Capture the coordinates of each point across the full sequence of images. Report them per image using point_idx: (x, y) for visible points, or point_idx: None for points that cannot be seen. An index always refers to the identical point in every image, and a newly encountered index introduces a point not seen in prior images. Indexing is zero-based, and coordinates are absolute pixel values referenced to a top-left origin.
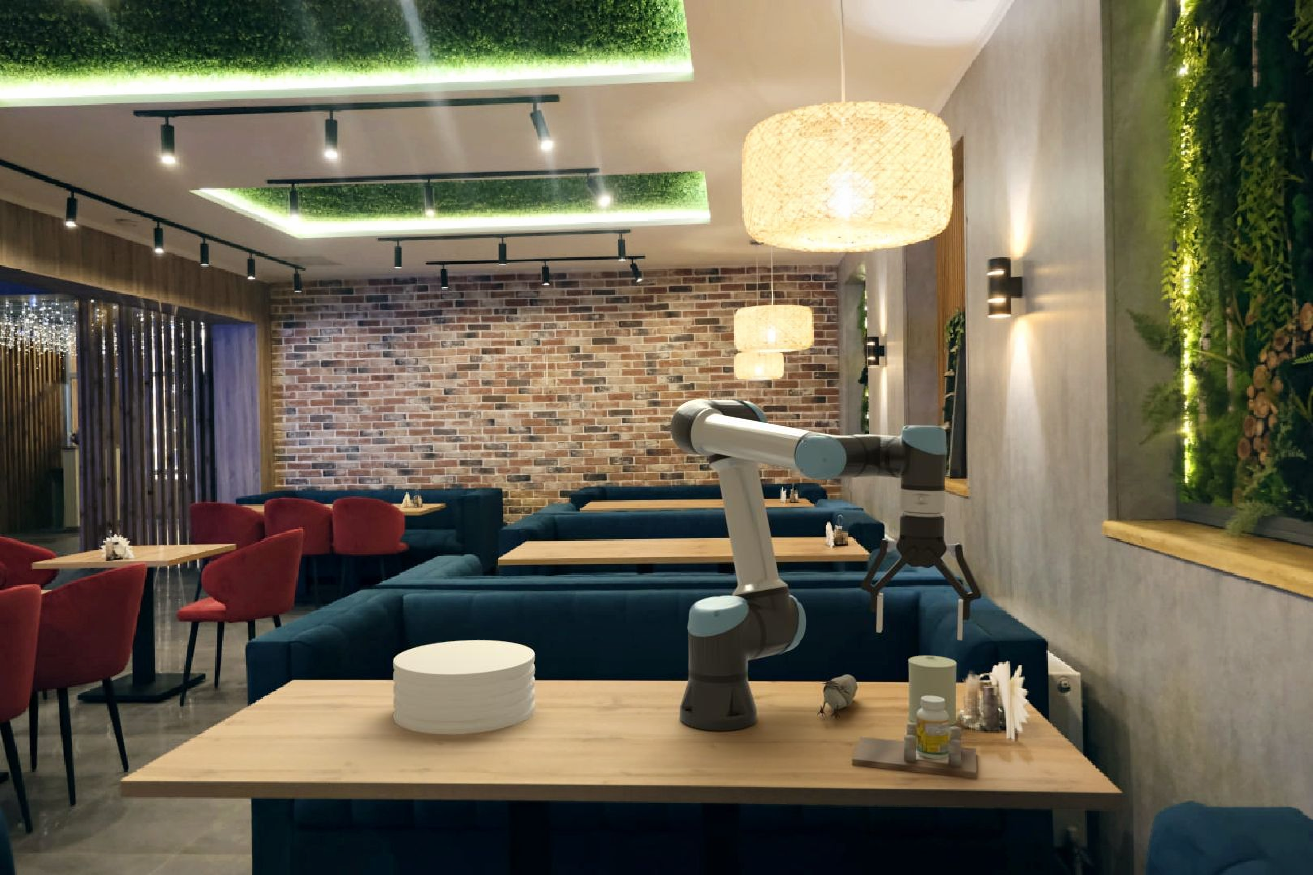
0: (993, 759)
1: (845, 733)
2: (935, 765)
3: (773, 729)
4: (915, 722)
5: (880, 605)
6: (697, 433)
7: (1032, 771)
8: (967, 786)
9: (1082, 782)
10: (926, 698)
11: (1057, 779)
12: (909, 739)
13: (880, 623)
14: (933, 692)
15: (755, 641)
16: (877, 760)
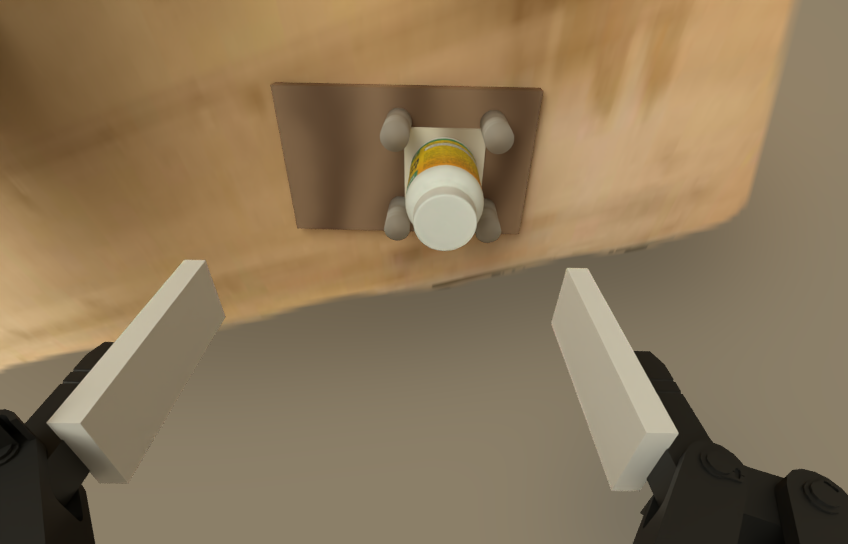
0: (574, 111)
1: (218, 14)
2: None
3: (44, 42)
4: None
5: (156, 426)
6: None
7: (636, 162)
8: (497, 262)
9: (713, 194)
10: (428, 226)
11: (670, 192)
12: (396, 239)
13: (205, 347)
14: None
15: None
16: (342, 224)
